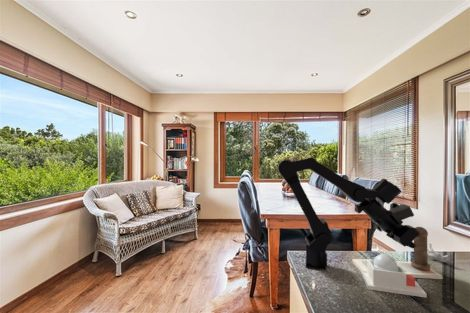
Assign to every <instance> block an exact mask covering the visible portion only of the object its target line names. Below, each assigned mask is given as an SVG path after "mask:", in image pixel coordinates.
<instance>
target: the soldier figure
mask: <svg viewBox="0 0 470 313" xmlns="http://www.w3.org/2000/svg"><path fill="white" fill-rule="evenodd" d="M428 245H429V246H428V248H427V255H428V258H430V259H431V260H433V261H437V260H438V261H440V262H441V261H442V263H443V264H448V263H449V262H450V258H451V255H450V254H448V255H447V254H446V255H445V254H441V253H440V252H437V251H435V250H434V249H433V247H432V243H428ZM429 249H430V250H429Z"/></svg>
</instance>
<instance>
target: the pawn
mask: <svg viewBox="0 0 470 313" xmlns="http://www.w3.org/2000/svg"><path fill="white" fill-rule="evenodd" d="M415 228H416V229H417V230H418V231H419V232H420V235H418V236H417V237H416V238H415V239H414V240H413V243H414V245H415V247H414V248H413V259H412V260H411V261H410V262H411V265H412V266H413V267H414V268H417V269H420V270H430V268H431V264H430V263H429V262H428V260H429V259H428V258H429V256H428V255H427V249H428V236H429V232H428V231H427V229H426V228H424V227H422V226H416V227H415Z"/></svg>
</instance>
